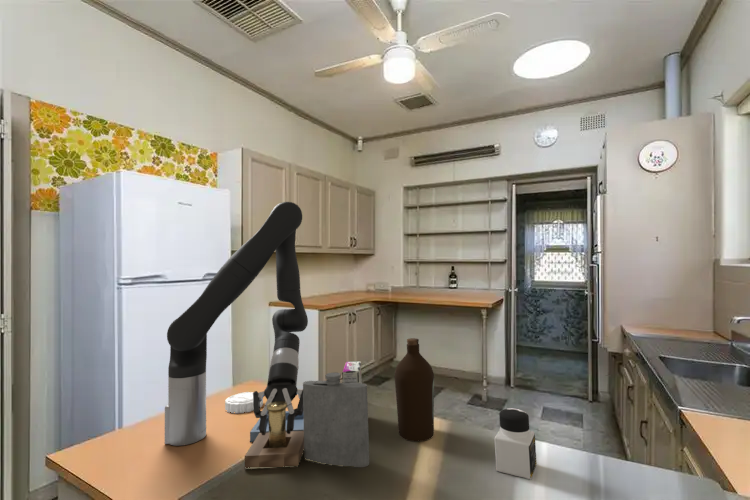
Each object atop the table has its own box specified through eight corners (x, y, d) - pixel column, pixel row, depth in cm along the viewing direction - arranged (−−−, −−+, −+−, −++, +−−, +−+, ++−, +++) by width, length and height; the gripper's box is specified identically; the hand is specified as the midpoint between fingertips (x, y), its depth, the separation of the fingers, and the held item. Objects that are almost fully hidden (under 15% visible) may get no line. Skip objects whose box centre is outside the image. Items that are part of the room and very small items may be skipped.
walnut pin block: (244, 469, 82) (244, 456, 82) (259, 444, 94) (259, 432, 94) (298, 467, 83) (298, 453, 83) (306, 442, 95) (306, 430, 95)
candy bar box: (346, 415, 112) (345, 361, 113) (363, 415, 112) (361, 360, 113) (342, 431, 101) (341, 371, 102) (361, 431, 100) (359, 370, 101)
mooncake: (270, 403, 126) (270, 392, 126) (246, 416, 115) (246, 404, 115) (242, 399, 130) (242, 389, 131) (216, 412, 119) (216, 400, 119)
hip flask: (370, 460, 85) (368, 372, 86) (365, 469, 81) (363, 377, 82) (307, 453, 89) (306, 369, 90) (300, 462, 85) (298, 374, 86)
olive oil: (403, 445, 91) (399, 344, 93) (391, 428, 102) (388, 337, 103) (442, 439, 94) (438, 341, 95) (428, 423, 104) (424, 334, 106)
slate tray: (250, 441, 96) (250, 432, 96) (264, 420, 110) (264, 412, 110) (303, 439, 97) (303, 429, 97) (311, 418, 111) (310, 409, 111)
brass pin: (265, 460, 86) (264, 408, 87) (270, 451, 91) (269, 401, 91) (285, 459, 86) (284, 407, 87) (289, 450, 91) (288, 400, 92)
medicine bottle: (531, 480, 75) (528, 420, 75) (495, 471, 78) (492, 414, 79) (536, 464, 81) (533, 408, 81) (503, 456, 84) (500, 403, 85)
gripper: (254, 362, 97) (241, 428, 84) (309, 360, 98) (304, 424, 85) (259, 377, 102) (248, 441, 89) (311, 374, 103) (307, 437, 90)
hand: (275, 432), depth 87 cm, fingers open, 5 cm apart
